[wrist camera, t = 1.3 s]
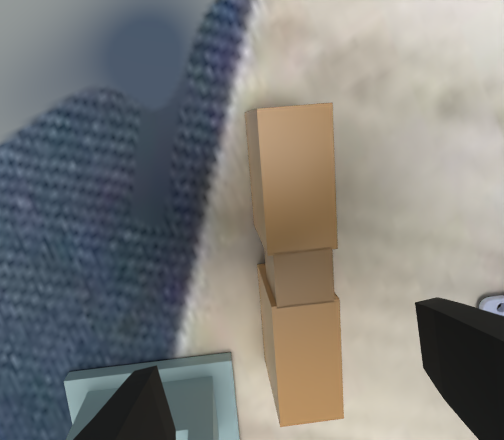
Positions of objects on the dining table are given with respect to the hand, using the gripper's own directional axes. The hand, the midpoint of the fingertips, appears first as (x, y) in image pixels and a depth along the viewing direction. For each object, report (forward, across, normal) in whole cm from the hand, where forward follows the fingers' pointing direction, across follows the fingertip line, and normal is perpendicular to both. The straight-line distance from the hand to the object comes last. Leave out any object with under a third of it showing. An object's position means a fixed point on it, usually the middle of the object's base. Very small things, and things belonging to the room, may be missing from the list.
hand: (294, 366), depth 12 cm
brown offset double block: (+10, -1, 0) cm, 10 cm away
